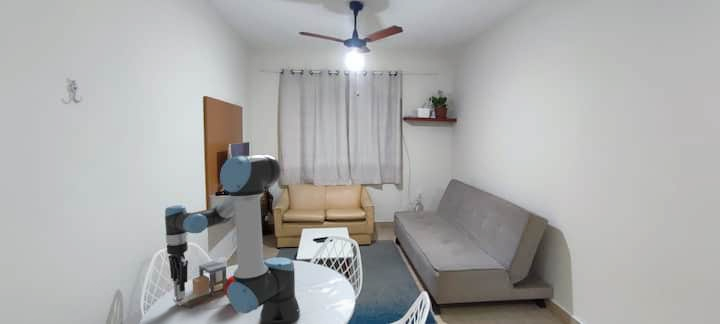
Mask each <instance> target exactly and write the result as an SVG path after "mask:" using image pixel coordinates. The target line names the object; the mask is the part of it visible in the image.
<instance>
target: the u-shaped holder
mask: <svg viewBox="0 0 720 324" xmlns="http://www.w3.org/2000/svg"><path fill="white" fill-rule="evenodd" d="M191 279H192V290H191V291H192V292H191V291H189V293H188V292H186V293H187V294H185V297H184V298H181V299H178V292H177V285H176V297H174V298H172V301H173V302H174V303H175V304H177V305H178V306H182V305H184V304H185V303H187V302H188V301H190V300H192V299H195V298H198V297H200V296H203V295H205V294H208V293H210V287H209V285H210V277H208V276H207V275H205V274H203V275H202V276H200V275H199V276H196V277H194V278H191ZM175 280H176V283H178V278H177V279H175Z"/></svg>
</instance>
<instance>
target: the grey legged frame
mask: <svg viewBox="0 0 720 324" xmlns="http://www.w3.org/2000/svg"><path fill="white" fill-rule="evenodd" d="M221 270H222V279H223V280H220V281H218V282H216V272H218V271H221ZM198 271H199V273H198V274H199V276H202V275H204V271H205V272H206V273H208V274H209V287H210V293H208V294H205V295H203V296H200V297H198V298H195V299H192V300H190V301H188V302H187V303H185V304H183V305H184V306H185V307H187V308H189V309H192V308H194V307H197V306H199V305H202V304H204V303H207V302H209V301H211V300H213V299H214V300H215V299H216V298H218V297H221V296H224V295H226V294H225V285H226V282H227V280H228V279H229V278H227V269H226V266H224V265H222V264H220V263H218V262H215V261H212V262H210V261H209V262H205V263H203V264H198ZM192 291H193V290H191V291H189V292H192ZM189 292H185V294H187V293H189Z"/></svg>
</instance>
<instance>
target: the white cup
mask: <svg viewBox="0 0 720 324" xmlns="http://www.w3.org/2000/svg"><path fill="white" fill-rule="evenodd" d="M212 261H215V262H218V263H220V264H222V265H224V266H226V270H227V263H228V262H227V257H225V256H217V257H214V258H211V259H210V260H209V262H212ZM220 280H223V279H222V270H221V271H218V272H216V282H218V281H220Z"/></svg>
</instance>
